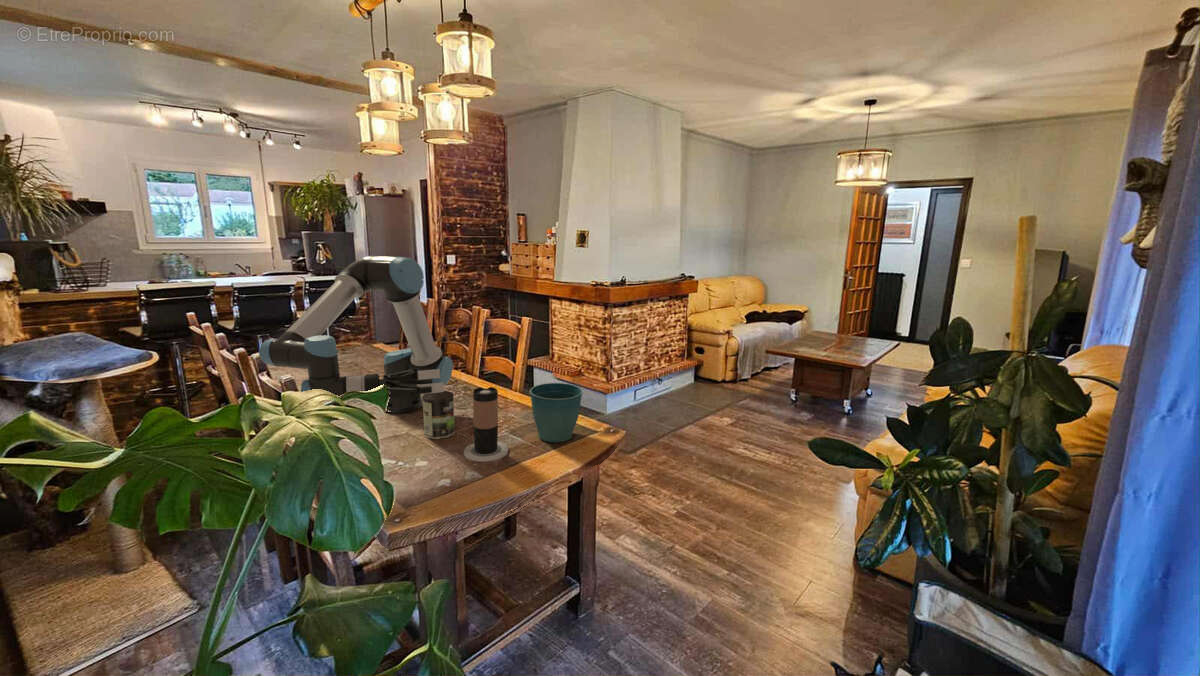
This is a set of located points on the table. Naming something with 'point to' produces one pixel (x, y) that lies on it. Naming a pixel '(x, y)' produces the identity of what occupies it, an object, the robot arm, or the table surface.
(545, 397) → the flower pot
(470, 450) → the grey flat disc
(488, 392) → the travel mug
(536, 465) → the table surface
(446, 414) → the coffee can
